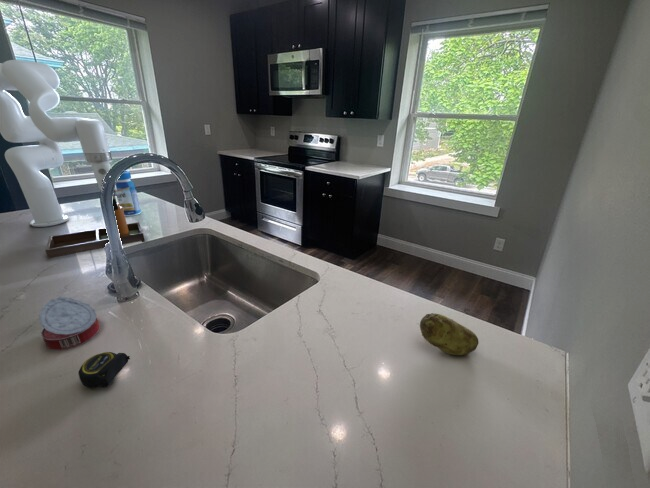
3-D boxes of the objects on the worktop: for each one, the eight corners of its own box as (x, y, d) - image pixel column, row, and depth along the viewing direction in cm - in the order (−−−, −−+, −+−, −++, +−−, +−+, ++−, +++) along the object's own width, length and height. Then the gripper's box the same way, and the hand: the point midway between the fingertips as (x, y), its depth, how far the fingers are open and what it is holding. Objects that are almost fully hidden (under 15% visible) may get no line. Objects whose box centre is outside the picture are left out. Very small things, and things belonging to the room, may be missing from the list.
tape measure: (109, 393, 56) (103, 378, 54) (73, 390, 56) (67, 376, 54) (132, 364, 62) (128, 350, 60) (100, 362, 62) (95, 348, 61)
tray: (52, 245, 110) (49, 236, 108) (140, 230, 125) (138, 222, 124) (49, 259, 100) (45, 250, 98) (145, 241, 115) (143, 233, 114)
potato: (474, 370, 63) (484, 342, 60) (413, 349, 69) (419, 321, 65) (475, 345, 70) (484, 318, 67) (420, 327, 75) (426, 301, 72)
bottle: (111, 236, 116) (98, 192, 109) (129, 233, 120) (118, 190, 112) (112, 242, 112) (99, 197, 105) (130, 238, 115) (119, 194, 108)
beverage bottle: (145, 213, 143) (135, 171, 135) (127, 218, 137) (115, 174, 128) (136, 209, 147) (125, 169, 139) (117, 214, 141) (105, 171, 132)
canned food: (90, 334, 76) (102, 297, 76) (97, 353, 69) (110, 312, 69) (29, 336, 67) (41, 294, 67) (30, 357, 60) (44, 310, 60)
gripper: (112, 160, 99) (126, 212, 107) (110, 153, 111) (122, 200, 119) (84, 162, 95) (101, 216, 103) (85, 155, 107) (100, 203, 115)
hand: (112, 207), depth 111 cm, fingers closed on bottle, 4 cm apart
